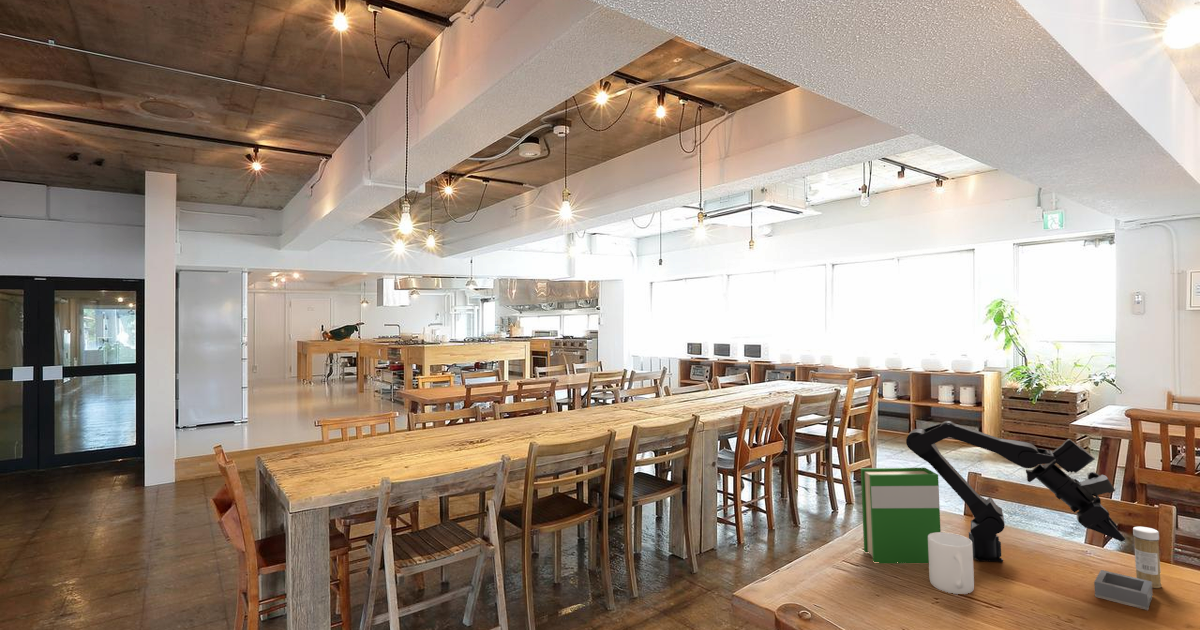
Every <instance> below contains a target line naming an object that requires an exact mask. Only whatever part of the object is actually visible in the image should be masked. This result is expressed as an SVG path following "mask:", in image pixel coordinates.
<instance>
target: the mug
mask: <svg viewBox="0 0 1200 630" xmlns="http://www.w3.org/2000/svg"><path fill="white" fill-rule="evenodd" d="M928 555H929V564H928V575H929V582H930V584H931V585H932V586H933V587H934V588H936V589H937V590H939V591H941V590H942V591H941V592H943V591H945V592H944V593H947V592H948V593H947V594H951V593H953V594H952V595H958V594H964V595H968V593H969V594H971V593H972V592H973V591H974V589H975V588H974V587H975V578H974V577H975V572H974V570H975V569H974V558H973V546H972V541H971V540H970V539H969V537H967V536H964V535H961V534H956V533H953V532H943V531H941V532H935V533H930V534H929V535H928Z"/></svg>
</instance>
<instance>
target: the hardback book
mask: <svg viewBox="0 0 1200 630" xmlns="http://www.w3.org/2000/svg"><path fill="white" fill-rule="evenodd" d="M860 482H861V486H860V487H861V509H862V531H863V532H862V533H863V552H864V551H865V552H869V553H870V556H871V557H872V562H873V561H874V562H879V563H878V564H904V563H929V555H928V535H929V534H930V533H935V532H942V531H941V510H940V509H941V508H940V489H939V488H940V487H939V484H940V482H939V473H935V472H934V471H932V470H930V469H928V468H927V467H868V468H867V467H866V468H865V467H864V468H863V467H861V468H860ZM897 562H898V563H897Z"/></svg>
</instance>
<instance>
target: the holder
mask: <svg viewBox="0 0 1200 630" xmlns="http://www.w3.org/2000/svg"><path fill="white" fill-rule="evenodd" d="M1093 583H1094V586H1093V587H1094V597H1095V598H1099V599H1104V600H1107V601H1110V602H1114V603H1117V604H1121V605H1125V606H1129V607H1134V608H1136V609H1137V608H1138V609H1142V610H1145V611H1149V609H1150V606H1151V602H1152V599H1153V597H1152V596H1154V595H1153V588H1152V581H1148V580H1143V579H1139V578H1137V577H1134V576H1130V575H1125V574H1121V573H1117V572H1113V571H1108V570H1104V569H1100V571H1099V573H1098V574H1097V577H1096V578H1095V580H1094V582H1093Z"/></svg>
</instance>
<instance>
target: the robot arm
mask: <svg viewBox="0 0 1200 630" xmlns="http://www.w3.org/2000/svg"><path fill="white" fill-rule="evenodd" d="M908 433H909V434H907V436H906V439H905V443H906V446H907V448H908V449H909V450H910V451H911V452H912V453H914V454H916V456H918V457H919V458H921V459H922V460H924V461H925V462H927V463H928V464H929V465H930V466H931V467H932V468H933V469H934V470H935V471H936V472H937V474H938V475H940V477H941V478H942V479H943V480H944V481H945V482H946V483H947V485H949V486H950V488H951V489H952V490H953V491H954V492H955V493H956V495H957V496H959V497H960V498H961V500H963V502H964V503H965V504H966V506H967V507H968V508H969V510H970V512H971V514H972V516H973V517H974V518H973V519H972V520H970V530H969V532H968V538H969V539H970V540H971V541H972V546H973V559H974V560H975V561H977V562H999V563H1000V562H1001V563H1002V562H1004V559H1003V558H1001V557H1002V543H1001V541H1000V538H999V537H1000V536H998V534H1000V533H1002V532H1003V531H1004V529H1005V525H1006V524H1005V516H1004V514H1003V508H1002V507H1000V506H998V504H996V502H995V501H994V499H993V498H992V497H991V496H990V497H988V498H987V499H986V498H985V497H983V496H981V495H980V494H978V492H977V491H976V490H975V489H974V488H973V486H971V484H969V482H968V481H966V479H965V478H964V477H963V476H962V475H961V474H960V473H959V472H958V471H957V470H956V468H955V467H954V466H953V465H952V464H951V463H950V462H949V461H948V460H947V459H946V458H945V457H944V456H943V455H942V453H941V452H940V449H939V448H938V446H937V444H936V443H939V442H941V441H943V440H945V439H948V438H951V439H954V440H957V441H960V442H962V443H965V444H969V445H972V446H974V447H978V448H980V449H983V450H986V451H989V452H992V453H995V454H997V455H999V456H1001V457H1003V458H1004V459H1005V460H1008V461H1009V462H1011V463H1013V464H1016V465H1018V466H1019V467H1021V468H1024V469H1025V473H1026V480H1027V482H1028V483H1031V482H1033V481H1034V480H1035V479H1036V480H1038V481H1039V482H1040V483H1041V484H1042V485H1044V486H1045V487H1046V488H1047V489H1049V491H1050V492H1051V493H1053V494H1054V496H1055V497H1056V498H1057V500H1061V501H1062V502H1063V503H1064V504H1066V505H1067V506H1068V507H1069V508H1070V510H1071V511H1072V512H1073V513H1076V519H1077V521H1078V523H1079V524H1080V525H1081V526H1082V527H1084V528H1085V529H1088V530H1093V531H1095V532H1097V533H1100V534H1102V535H1105V536H1106V537H1110V538H1112V539H1115V540H1117V541H1119V542H1124V541H1125V540H1126V538H1125V536H1124V535H1123V534H1122V533H1121V532H1120V531H1119V529H1118V528H1119V527H1118V525H1117V524H1116V522H1114V519H1112V518H1111V517H1110V512H1109V511H1108V509H1106V507H1104V506H1103V505H1102V503H1101V498H1100V496H1099V495H1103V494H1108V493H1109V494H1111V493H1114V492H1115V491H1116V489H1115V488H1114V486H1113V484H1112V483H1111V481H1110V480H1109V478H1108V477H1107V476H1106V475H1104V474H1100V475H1099V474H1098V473H1097V472H1095V471H1090V472H1088V473H1087V479H1086V478H1085V479H1084V480H1082V481H1079V480H1078V479H1077V478H1072V477H1071V476H1070V475H1068V474H1067V473H1073V472H1074V473H1075V474H1077V473H1078V472H1080V471H1081V470H1083V468H1085V467H1086V466H1088V465H1089V464H1091V463H1092V462H1093V461H1095V460H1096V458H1095V457H1094V455H1092V454H1091V453H1090V452H1089V451H1087V450H1086V449H1085V448H1084V447H1082V446H1080V445H1078V444H1077V443H1076V442H1074V441H1073V440H1072V439H1070V438H1068V439H1066V440H1065V441H1063V443H1062V444H1060V446H1058V447H1056V449H1054V450H1051V449H1046V448H1039V447H1036V446H1035V445H1034V444H1032V443H1031V442H1026V441H1020V440H1014V439H1005V438H1000V437H997V436H993V435H991V434H987V433H984V432H982V431H979V430H976V429H973V428H969V427H967V426H963V425H960V424H957V423H955V422H953V421H950V420H945V421H943V422H941V423H938V424H936V425H932V426H929V427H926V428H923V429H921V428H914V429H912V430H911V431H909V432H908ZM1057 465H1058V466H1060V467H1061V468H1060V467H1058V466H1057ZM1062 469H1063V470H1062Z"/></svg>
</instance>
